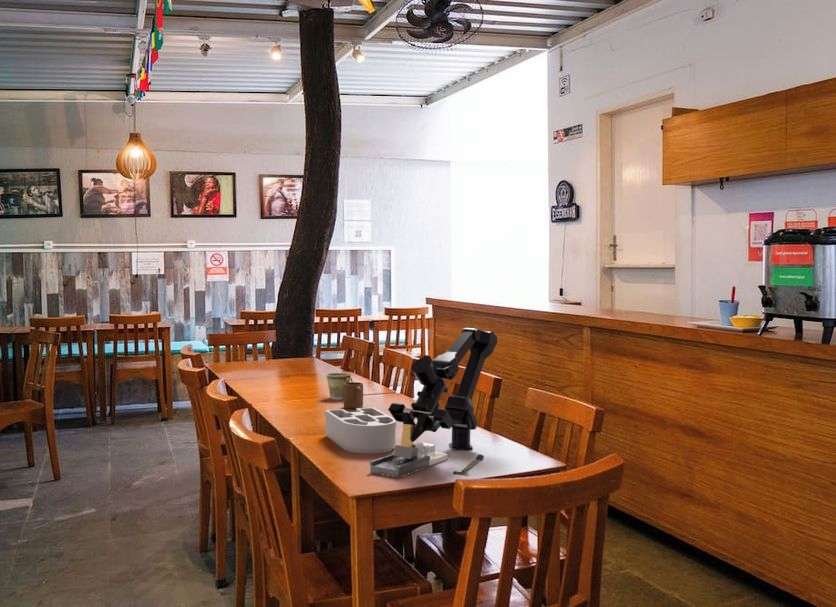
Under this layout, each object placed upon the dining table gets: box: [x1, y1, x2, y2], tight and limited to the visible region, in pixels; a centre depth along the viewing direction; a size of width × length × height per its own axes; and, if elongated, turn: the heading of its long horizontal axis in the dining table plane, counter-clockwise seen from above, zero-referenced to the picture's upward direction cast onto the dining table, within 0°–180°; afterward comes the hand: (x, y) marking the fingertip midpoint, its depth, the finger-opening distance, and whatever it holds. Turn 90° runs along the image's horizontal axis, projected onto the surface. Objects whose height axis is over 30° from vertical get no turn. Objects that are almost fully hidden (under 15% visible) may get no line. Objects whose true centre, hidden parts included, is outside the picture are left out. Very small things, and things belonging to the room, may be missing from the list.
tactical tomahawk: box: [452, 453, 485, 477], centre depth 219 cm, size 21×7×1 cm, turn 157°
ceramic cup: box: [326, 372, 354, 401], centre depth 325 cm, size 13×10×10 cm
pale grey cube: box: [413, 441, 425, 459], centre depth 220 cm, size 4×4×4 cm
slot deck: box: [369, 453, 430, 478], centre depth 215 cm, size 15×10×3 cm, turn 147°
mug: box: [343, 381, 364, 410], centre depth 304 cm, size 12×8×9 cm, turn 22°
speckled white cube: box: [423, 442, 436, 460], centre depth 225 cm, size 4×4×4 cm
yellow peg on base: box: [393, 423, 418, 459], centre depth 217 cm, size 3×6×9 cm, turn 57°
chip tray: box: [429, 451, 449, 467], centre depth 225 cm, size 10×9×2 cm
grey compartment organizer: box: [324, 407, 397, 454], centre depth 245 cm, size 17×28×9 cm, turn 22°
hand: (408, 440), depth 217 cm, fingers closed on yellow peg on base, 2 cm apart
